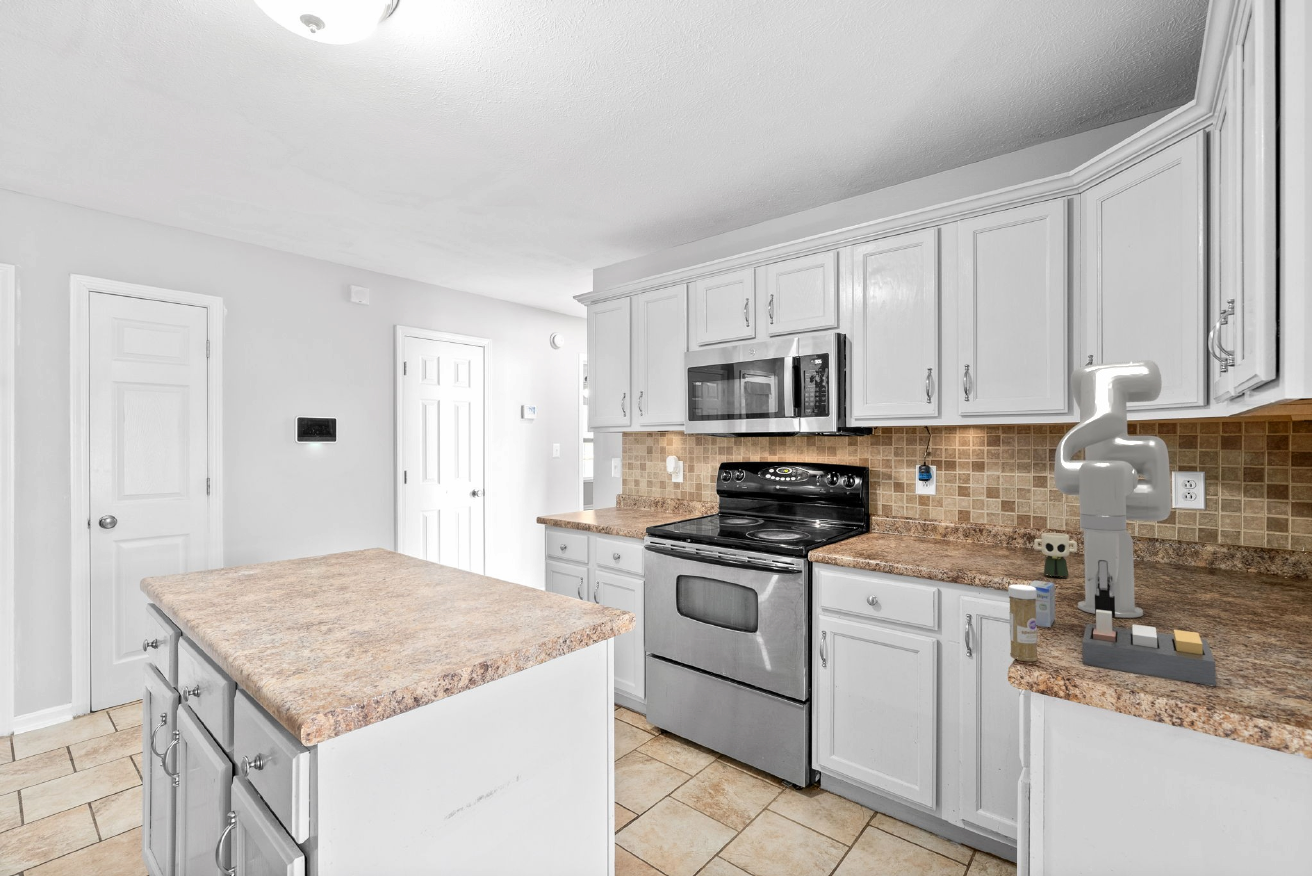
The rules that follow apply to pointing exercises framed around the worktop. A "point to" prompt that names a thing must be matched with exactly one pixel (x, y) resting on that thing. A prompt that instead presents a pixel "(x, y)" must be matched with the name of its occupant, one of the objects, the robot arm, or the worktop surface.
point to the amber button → (1188, 642)
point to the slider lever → (1104, 626)
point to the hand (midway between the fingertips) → (1105, 615)
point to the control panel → (1149, 657)
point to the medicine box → (1044, 603)
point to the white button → (1144, 636)
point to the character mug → (1055, 552)
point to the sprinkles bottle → (1023, 622)
